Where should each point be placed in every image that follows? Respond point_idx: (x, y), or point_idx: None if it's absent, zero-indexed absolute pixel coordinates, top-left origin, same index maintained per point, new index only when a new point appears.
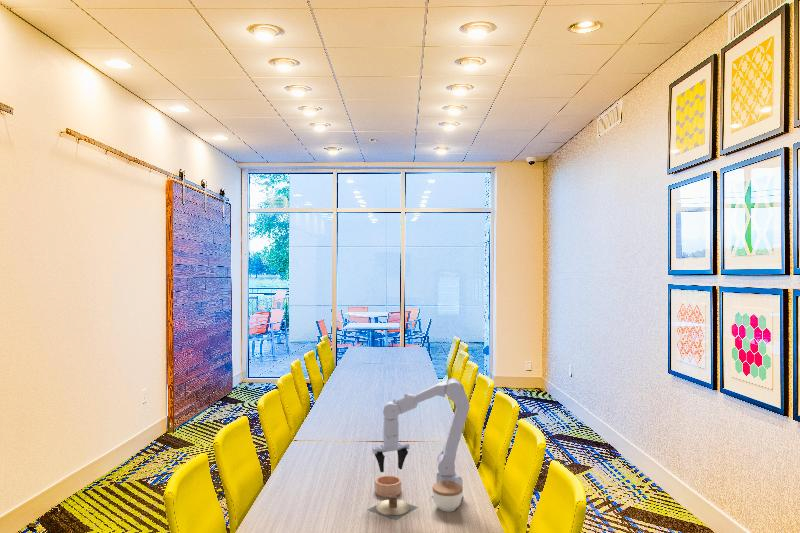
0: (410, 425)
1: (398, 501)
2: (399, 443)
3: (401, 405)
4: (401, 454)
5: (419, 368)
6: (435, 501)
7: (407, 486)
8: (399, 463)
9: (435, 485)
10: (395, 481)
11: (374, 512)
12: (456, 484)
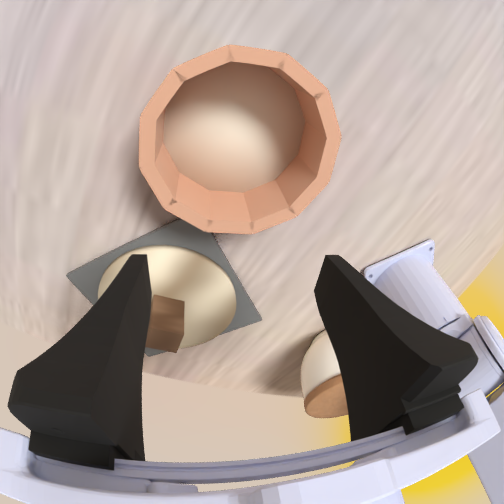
0: None
1: (207, 283)
2: (452, 460)
3: None
4: (359, 411)
5: None
6: (302, 369)
7: (370, 115)
8: (337, 305)
9: (334, 392)
10: (311, 116)
11: (90, 300)
12: None
